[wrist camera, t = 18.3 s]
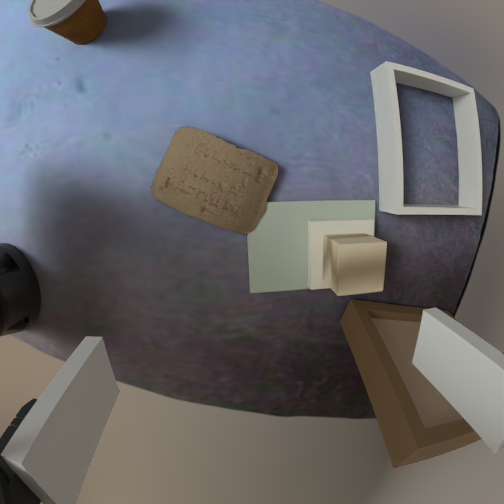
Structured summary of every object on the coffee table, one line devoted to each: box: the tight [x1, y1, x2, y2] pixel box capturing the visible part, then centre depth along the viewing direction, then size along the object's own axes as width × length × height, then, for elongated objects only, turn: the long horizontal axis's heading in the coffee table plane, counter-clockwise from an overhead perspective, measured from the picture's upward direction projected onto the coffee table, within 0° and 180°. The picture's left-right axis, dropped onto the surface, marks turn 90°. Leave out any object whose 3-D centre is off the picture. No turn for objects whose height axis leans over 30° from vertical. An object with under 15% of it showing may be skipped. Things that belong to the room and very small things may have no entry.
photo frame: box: [340, 299, 482, 468], centre depth 33 cm, size 15×22×25 cm
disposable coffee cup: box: [28, 0, 107, 45], centre depth 23 cm, size 10×10×12 cm
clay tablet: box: [151, 126, 279, 234], centre depth 35 cm, size 14×10×3 cm
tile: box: [308, 218, 374, 290], centre depth 39 cm, size 2×9×9 cm
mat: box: [247, 200, 375, 293], centre depth 39 cm, size 18×12×1 cm, turn 92°
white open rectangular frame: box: [370, 61, 482, 215], centre depth 35 cm, size 18×21×5 cm
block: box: [322, 233, 387, 296], centre depth 35 cm, size 6×6×6 cm
